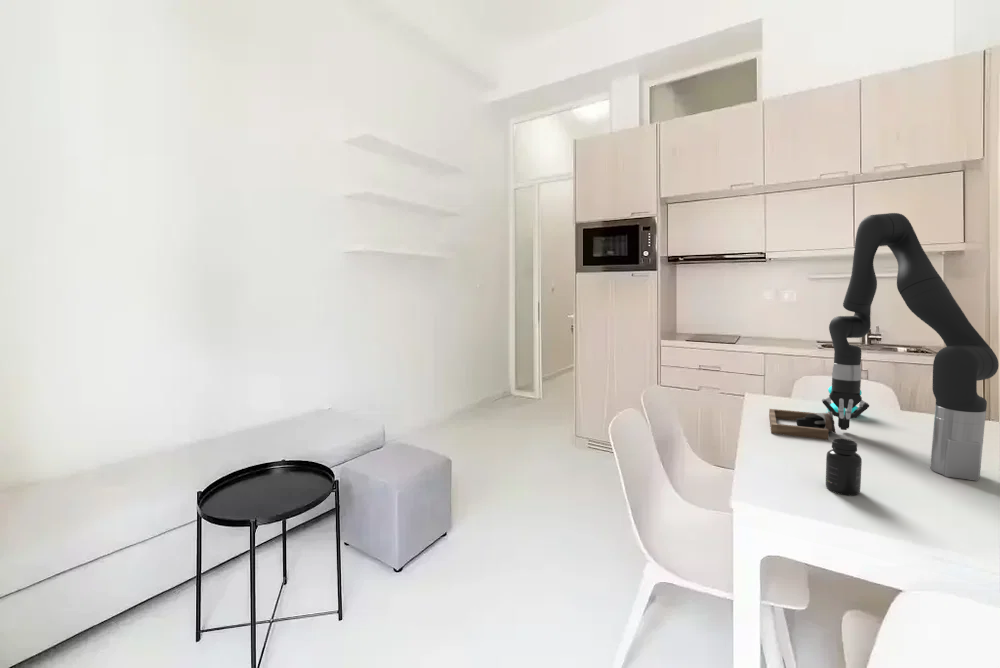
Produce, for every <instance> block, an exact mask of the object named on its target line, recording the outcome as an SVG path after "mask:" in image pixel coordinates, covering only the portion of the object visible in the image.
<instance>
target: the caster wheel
mask: <svg viewBox="0 0 1000 668" xmlns="http://www.w3.org/2000/svg"><path fill="white" fill-rule="evenodd" d="M795 421H796V426H803V427H813V428H822V429H828V430H829V433H830V432H831V433H834V434H836V427H835V420H834V415H833V414H832V412H829V411H828V410H827V412H810V413H809V414H807V415H806V416H805V418H797V419H796V420H795Z"/></svg>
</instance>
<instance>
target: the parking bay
mask: <svg viewBox="0 0 1000 668" xmlns="http://www.w3.org/2000/svg"><path fill="white" fill-rule="evenodd" d="M768 410H769V411H768V412H769V413H768V417H769V427H771V428H770V433H771V434H774V433H776V434H775V435H783V434H784V435H785V436H791V435H792V436H793V437H800V438H801V437H802V438H811V439H819V440H825V441H827V440H828V441H829V433H830V432H829V430H828V429H822V428H813V427H803V426H797V425H793V424H784V423H777V419H779V420H789V421H796V419H797V418H805V416H806V415H807V414H809V413H811V411H808V412H807V411H798V410H788V409H787V410H786V409H779V408H778V409H777V408H769V409H768Z"/></svg>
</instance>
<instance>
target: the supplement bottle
mask: <svg viewBox="0 0 1000 668" xmlns="http://www.w3.org/2000/svg"><path fill="white" fill-rule="evenodd" d="M831 442H832V443H831V449H830V450H828V451H827V453H826V459H825V460H826V461H825V487H826V489H827V490H829V491H830V490H831V492H833V493H835V492H836V494H838V493H839V495H845V496H858V495H859V494H860V492H861V486H862V485H861V483H862V463H863V462H862V456H860V454H859V453H857V452H858V442H856V441H854V440H851V439H848V438H833V439H832V440H831Z"/></svg>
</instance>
